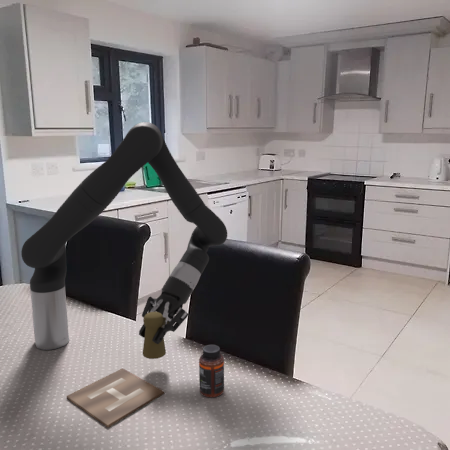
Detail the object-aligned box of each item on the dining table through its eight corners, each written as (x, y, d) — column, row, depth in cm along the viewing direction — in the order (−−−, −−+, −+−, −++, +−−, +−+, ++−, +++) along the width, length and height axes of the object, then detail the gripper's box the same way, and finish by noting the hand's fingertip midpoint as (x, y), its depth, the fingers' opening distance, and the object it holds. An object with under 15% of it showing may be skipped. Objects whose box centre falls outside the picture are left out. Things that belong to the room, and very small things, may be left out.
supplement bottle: (227, 387, 106) (227, 344, 104) (219, 401, 101) (219, 356, 98) (204, 382, 108) (204, 340, 106) (195, 395, 103) (195, 352, 100)
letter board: (66, 398, 101) (66, 395, 101) (122, 370, 113) (122, 368, 113) (107, 427, 91) (107, 425, 91) (164, 393, 103) (164, 391, 103)
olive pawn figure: (161, 360, 110) (160, 319, 108) (138, 357, 111) (137, 317, 109) (169, 348, 116) (168, 310, 113) (147, 346, 117) (146, 308, 114)
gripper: (156, 270, 119) (121, 325, 113) (194, 282, 110) (159, 342, 104) (170, 283, 124) (138, 336, 118) (207, 295, 116) (175, 354, 109)
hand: (148, 339), depth 111 cm, fingers closed on olive pawn figure, 4 cm apart
